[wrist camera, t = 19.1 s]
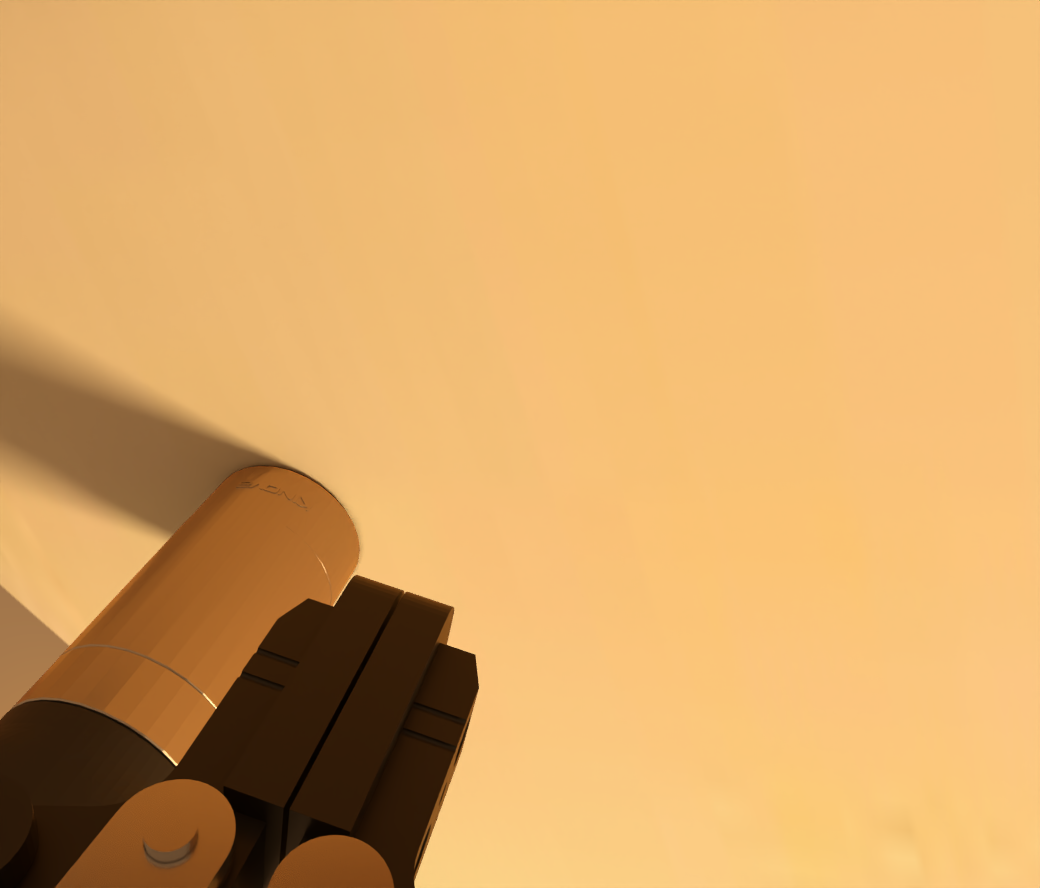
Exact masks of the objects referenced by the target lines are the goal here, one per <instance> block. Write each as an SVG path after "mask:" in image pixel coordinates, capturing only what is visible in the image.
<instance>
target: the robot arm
mask: <svg viewBox="0 0 1040 888" xmlns="http://www.w3.org/2000/svg"><path fill="white" fill-rule="evenodd" d="M359 552H360V548H359V540H358V535H357V533H356V530H355V527H354V524H353V522H352V521H351V519H350V517H349V516H348V514H347V512H346V511H345V509H344V508H343V507H342V506H341V505H340V504H339V502H338V501H337V500H336V499H335V498H334V497H333V496H332V495H331V494H330V493H328V492H327V491H326V490H325V489H324V488H322V487H321V486H320V485H318V484H316V483H315V482H313V481H312V480H310V479H308V478H307V477H305V476H302V475H300V474H297V473H295V472H293V471H290V470H286V469H282V468H278V467H272V466H255V467H249V468H244V469H242V470H239V471H237V472H235V473H233V474H232V475H231V476H229V477H228V478H227V479H226V480H225V481H224V482H223V483H222V484H221V485H220V486H219V487H218V488H217V489H216V490H215V491H214V492H213V493H212V494H211V495H210V497H209V498H208V499H207V500H206V501H205V502H204V503H203V504H202V505H201V506H200V507H199V508H198V509H197V510H196V511H195V513H194V514H193V515H192V516H191V517H190V518H189V519H188V520H187V521H186V522H185V523H184V524H183V525H182V526H181V527H180V528H179V529H178V530H177V531H176V532H175V533H174V535H173V536H172V537H171V538H170V539H169V540H168V541H167V542H166V543H165V544H164V545H163V546H162V547H161V548H160V550H159V551H158V552H157V553H156V554H155V555H154V556H153V557H152V558H151V559H150V560H149V561H148V562H147V564H146V565H145V566H144V567H143V568H142V569H141V570H140V571H139V572H138V573H137V574H136V575H135V576H134V577H133V579H132V580H131V581H130V582H129V583H128V584H127V585H126V586H125V587H124V588H123V589H122V590H121V591H120V592H119V594H118V595H117V596H116V597H115V598H114V599H113V600H112V601H111V602H110V603H109V604H108V605H107V606H106V607H105V609H104V610H103V611H102V612H101V613H100V614H99V615H98V616H97V617H96V618H95V619H94V620H93V621H92V622H91V624H90V625H89V626H88V627H87V628H86V629H85V630H84V631H83V632H82V633H81V634H80V635H79V636H78V638H77V639H76V640H75V641H74V642H73V643H72V644H71V645H70V646H69V647H68V648H67V649H66V651H64V653H63V654H62V655H61V656H60V657H59V658H58V659H57V660H56V662H55V663H54V664H53V665H52V666H51V667H50V668H49V669H48V670H47V671H46V672H45V674H44V675H42V677H41V678H40V679H39V680H38V681H37V682H36V683H35V684H34V685H33V686H32V687H31V688H30V689H29V690H28V691H27V693H26V694H25V695H24V696H23V697H22V698H21V699H20V700H19V701H18V702H17V703H16V704H15V705H14V707H13V708H12V709H11V710H10V711H9V712H7V713H6V714H5V715H4V717H3V718H2V719H1V720H0V888H415V886H414V880H415V878H416V875H417V872H418V869H419V867H420V864H421V861H422V859H423V856H424V853H425V850H426V848H427V845H428V842H429V839H430V837H431V834H432V831H433V828H434V826H435V823H436V820H437V817H438V814H439V811H440V809H441V806H442V804H443V801H444V798H445V795H446V793H447V790H448V787H449V784H450V782H451V779H452V776H453V774H454V771H455V768H456V765H457V763H458V760H459V757H460V754H461V752H462V748H463V744H464V741H465V737H466V733H467V730H468V726H469V722H470V718H471V715H472V711H473V707H474V704H475V700H476V696H477V693H478V689H479V684H478V675H477V666H476V657H475V655H474V654H471V653H469V652H466V651H463V650H460V649H457V648H454V647H451V646H448V645H447V641H448V636H449V632H450V628H451V623H452V619H453V614H454V607H451V606H448V605H445V604H442V603H439V602H436V601H433V600H430V599H428V598H425V597H422V596H419V595H416V594H413V593H410V592H406V593H405V594H404V591H403V590H400V589H397V588H394V587H391V586H388V585H385V584H382V583H379V582H376V581H373V580H370V579H367V578H365V577H362V576H359V575H355V576H354V577H353V578H352V579H351V580H350V582H349V583H348V585H347V586H346V588H345V590H344V591H343V593H342V595H341V596H340V598H339V599H338V601H337V603H336V604H335V606H334V607H333V604H334V603H335V601H336V599H337V598H338V596H339V594H340V593H341V591H342V590H343V588H344V586H345V585H346V583H347V582H348V580H349V578H350V577H351V575H352V573H353V572H354V570H355V567H356V565H357V563H358V559H359Z"/></svg>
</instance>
